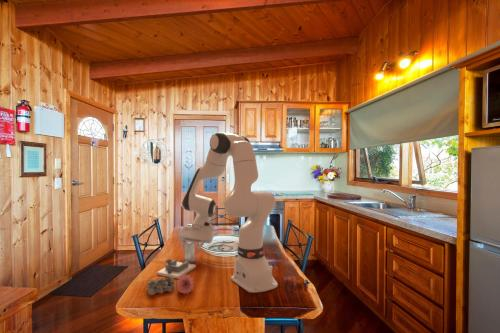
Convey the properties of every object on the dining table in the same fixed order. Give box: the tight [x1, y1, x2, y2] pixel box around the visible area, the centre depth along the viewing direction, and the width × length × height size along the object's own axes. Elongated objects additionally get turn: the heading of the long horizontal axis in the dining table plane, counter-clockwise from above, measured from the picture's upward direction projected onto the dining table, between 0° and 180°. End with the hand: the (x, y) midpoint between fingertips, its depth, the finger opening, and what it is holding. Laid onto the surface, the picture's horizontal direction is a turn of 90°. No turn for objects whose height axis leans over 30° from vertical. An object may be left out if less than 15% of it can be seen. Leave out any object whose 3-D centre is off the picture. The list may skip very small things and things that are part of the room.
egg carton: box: [146, 276, 176, 296], centre depth 108 cm, size 11×8×4 cm
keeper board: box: [156, 258, 197, 279], centre depth 126 cm, size 15×12×8 cm
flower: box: [175, 273, 195, 295], centre depth 107 cm, size 8×8×6 cm
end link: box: [184, 241, 195, 264], centre depth 139 cm, size 4×4×10 cm
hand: (190, 248), depth 140 cm, fingers open, 8 cm apart
